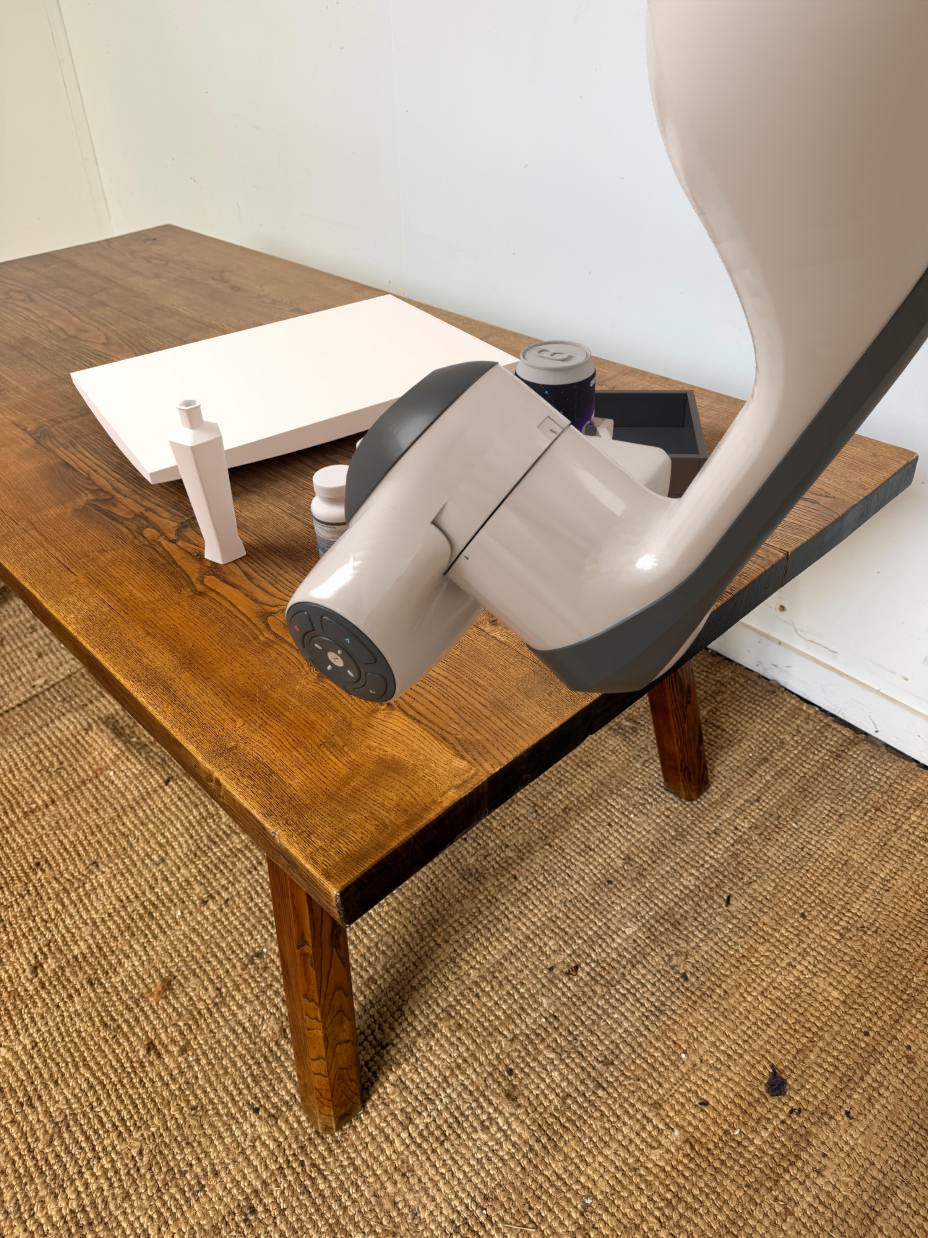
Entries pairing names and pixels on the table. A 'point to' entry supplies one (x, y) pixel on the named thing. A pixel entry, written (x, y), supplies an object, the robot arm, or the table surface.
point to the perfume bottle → (207, 481)
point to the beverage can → (561, 378)
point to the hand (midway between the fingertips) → (558, 419)
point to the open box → (659, 427)
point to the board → (277, 381)
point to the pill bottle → (329, 506)
